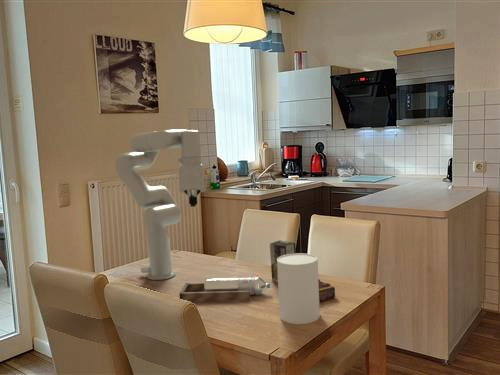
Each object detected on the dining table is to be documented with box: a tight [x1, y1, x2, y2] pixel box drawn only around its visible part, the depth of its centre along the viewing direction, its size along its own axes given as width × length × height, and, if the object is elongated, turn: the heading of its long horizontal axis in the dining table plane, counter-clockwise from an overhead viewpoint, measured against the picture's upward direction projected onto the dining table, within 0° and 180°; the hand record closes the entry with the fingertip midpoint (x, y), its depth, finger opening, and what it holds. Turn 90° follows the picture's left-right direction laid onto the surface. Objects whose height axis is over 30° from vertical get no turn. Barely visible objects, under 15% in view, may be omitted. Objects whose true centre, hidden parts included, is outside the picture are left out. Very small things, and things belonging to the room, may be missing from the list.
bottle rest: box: [179, 282, 251, 303], centre depth 192 cm, size 27×12×4 cm, turn 86°
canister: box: [277, 252, 321, 325], centre depth 167 cm, size 14×14×20 cm
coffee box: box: [269, 240, 297, 283], centre depth 205 cm, size 9×6×16 cm
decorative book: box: [318, 278, 336, 303], centre depth 186 cm, size 11×16×5 cm
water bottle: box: [203, 276, 271, 296], centre depth 192 cm, size 7×7×25 cm
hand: (193, 205), depth 201 cm, fingers closed
